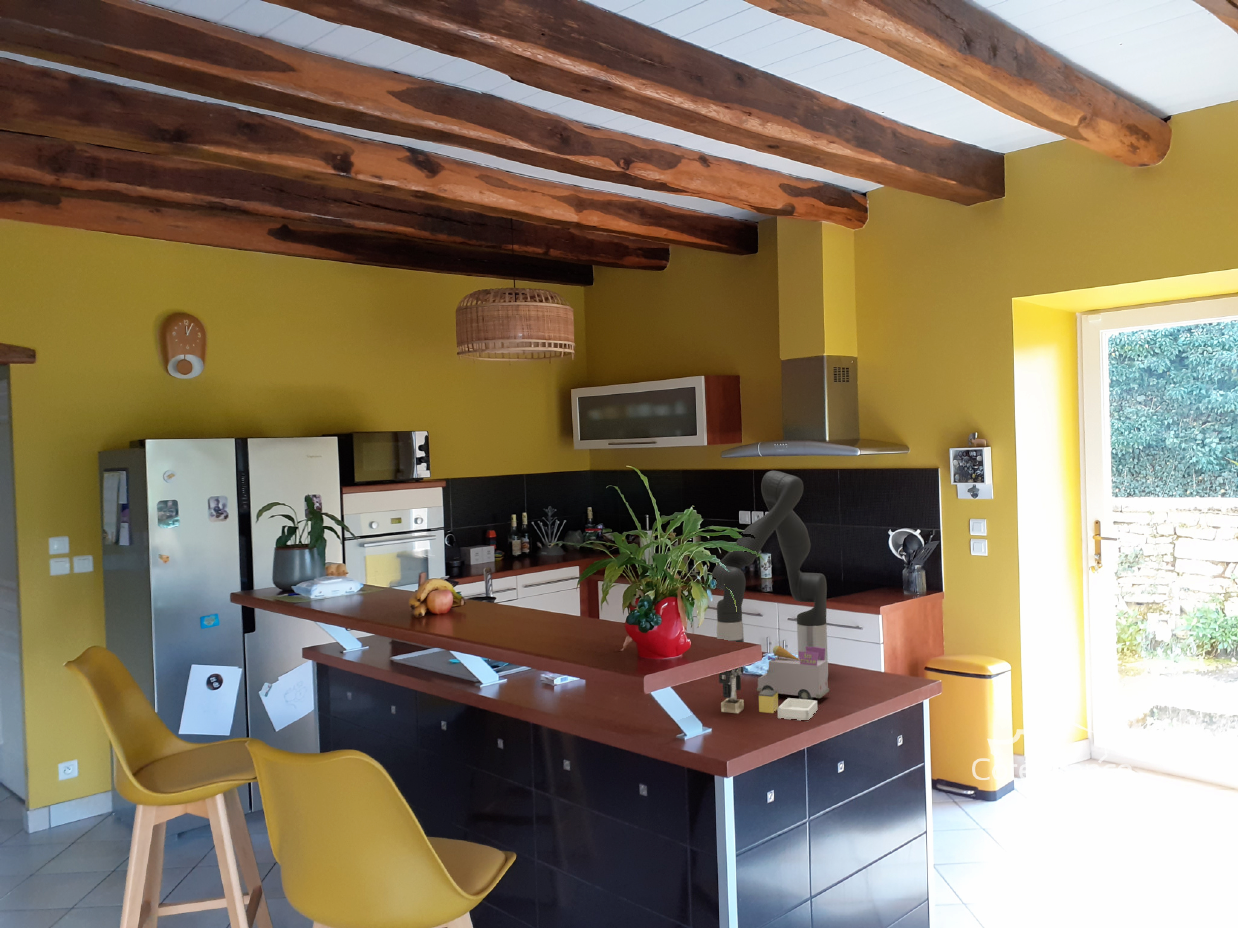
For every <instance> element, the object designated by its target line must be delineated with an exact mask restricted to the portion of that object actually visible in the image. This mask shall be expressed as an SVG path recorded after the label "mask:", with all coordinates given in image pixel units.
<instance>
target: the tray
mask: <svg viewBox="0 0 1238 928" xmlns="http://www.w3.org/2000/svg"><path fill="white" fill-rule="evenodd" d="M786 698H787V699H785V700H784V701H783V702H782V703H781V704H780V705H778V708H777V719H781V718H784V720H791V719H797V720H796V721H801V720H809V719H810V718H813V716H814V715H815V714H816V713H817V712H818V711H819V709H818V700H814V699H813V700H811V699H810V700H805V699H800V698H792V697H786ZM817 710H818V711H817ZM816 711H817V712H816ZM814 713H815V714H814ZM813 714H814V715H813ZM810 720H811V719H810ZM810 720H809V721H810Z"/></svg>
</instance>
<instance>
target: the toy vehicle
mask: <svg viewBox="0 0 1238 928" xmlns="http://www.w3.org/2000/svg"><path fill="white" fill-rule="evenodd" d="M825 649H826V648H819V647H807V646H806V651H805V652H801V651H798V650H797V654H798V653H799V658H798V657H797V656H795V655H794V654H792V653H791V652H789V651H788V650H787V649H785V648H784V647H782V646H781V645H774V647H773V648H772V653H773V656H774V657H772V656H770V655H768V656H767V661H768V669H767V670H766V673H764V674H763V675H761V676H759V677H758V678H757V687H756V691H757V692H762V691H763V690H774V691H778V694H780V695H789V696H790V695H791V696H798V699H805V700H814V698H816V699H821V698H823V696H825V695H826V694H827V693H829V692H830V688H829V685H828V684H829V683H828V678H827V660H825Z"/></svg>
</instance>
